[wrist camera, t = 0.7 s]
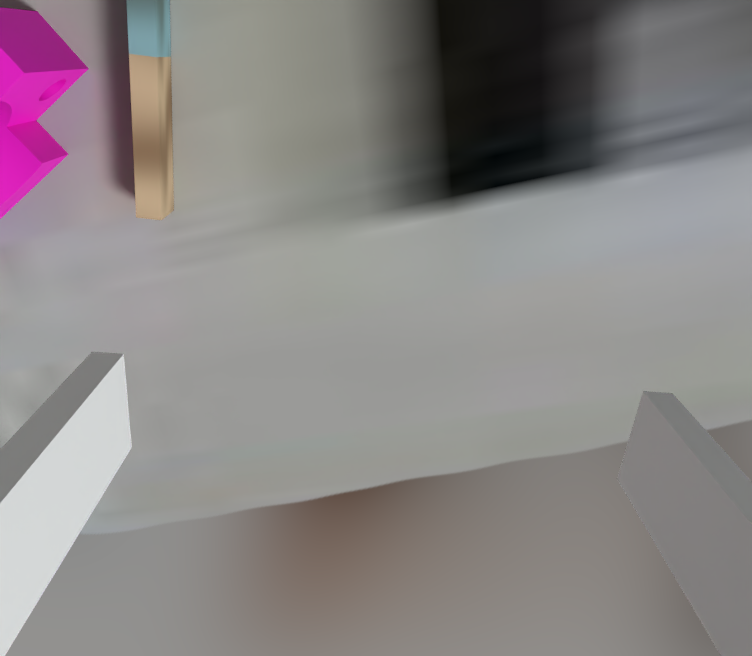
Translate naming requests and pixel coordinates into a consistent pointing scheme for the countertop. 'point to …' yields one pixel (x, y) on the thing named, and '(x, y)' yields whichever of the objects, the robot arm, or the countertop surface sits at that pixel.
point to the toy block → (29, 99)
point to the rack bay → (151, 106)
